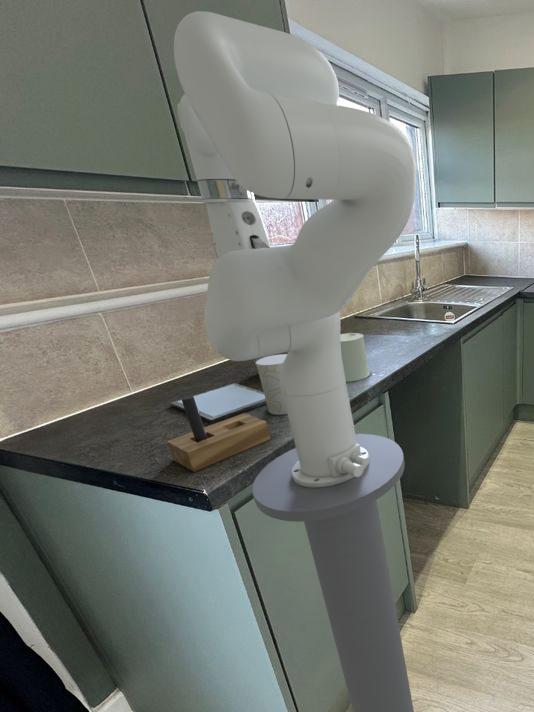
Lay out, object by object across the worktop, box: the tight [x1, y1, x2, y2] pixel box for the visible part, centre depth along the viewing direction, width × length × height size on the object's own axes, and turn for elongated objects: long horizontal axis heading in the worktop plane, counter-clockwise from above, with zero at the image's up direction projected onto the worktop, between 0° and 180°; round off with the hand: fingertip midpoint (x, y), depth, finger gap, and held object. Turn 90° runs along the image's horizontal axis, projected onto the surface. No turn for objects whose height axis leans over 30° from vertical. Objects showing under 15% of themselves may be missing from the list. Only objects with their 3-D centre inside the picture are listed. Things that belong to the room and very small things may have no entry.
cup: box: [256, 353, 288, 416], centre depth 97 cm, size 8×8×12 cm
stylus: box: [180, 395, 208, 442], centre depth 76 cm, size 2×2×12 cm
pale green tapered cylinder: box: [340, 332, 371, 383], centre depth 116 cm, size 9×9×12 cm
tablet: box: [170, 382, 267, 424], centre depth 103 cm, size 20×15×1 cm
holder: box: [166, 412, 271, 473], centre depth 80 cm, size 8×14×4 cm, turn 148°
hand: (253, 296), depth 76 cm, fingers open, 9 cm apart
